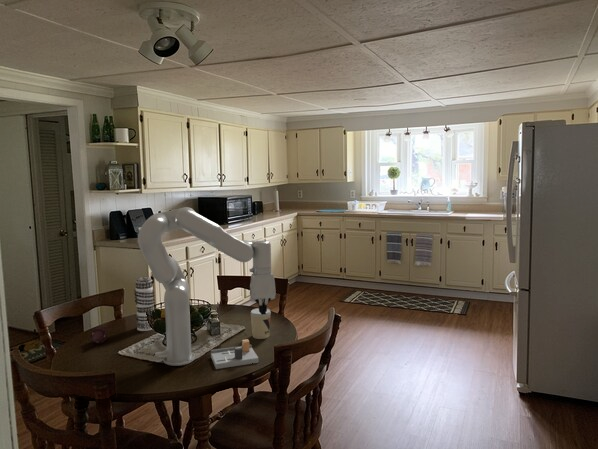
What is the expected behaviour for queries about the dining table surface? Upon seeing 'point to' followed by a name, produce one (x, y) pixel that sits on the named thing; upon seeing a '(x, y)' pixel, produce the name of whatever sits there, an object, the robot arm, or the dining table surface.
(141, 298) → the decorative candle
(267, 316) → the coffee cup
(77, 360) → the dining table surface
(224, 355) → the console
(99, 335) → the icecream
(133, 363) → the dining table surface
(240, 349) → the fader black
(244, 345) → the fader orange
